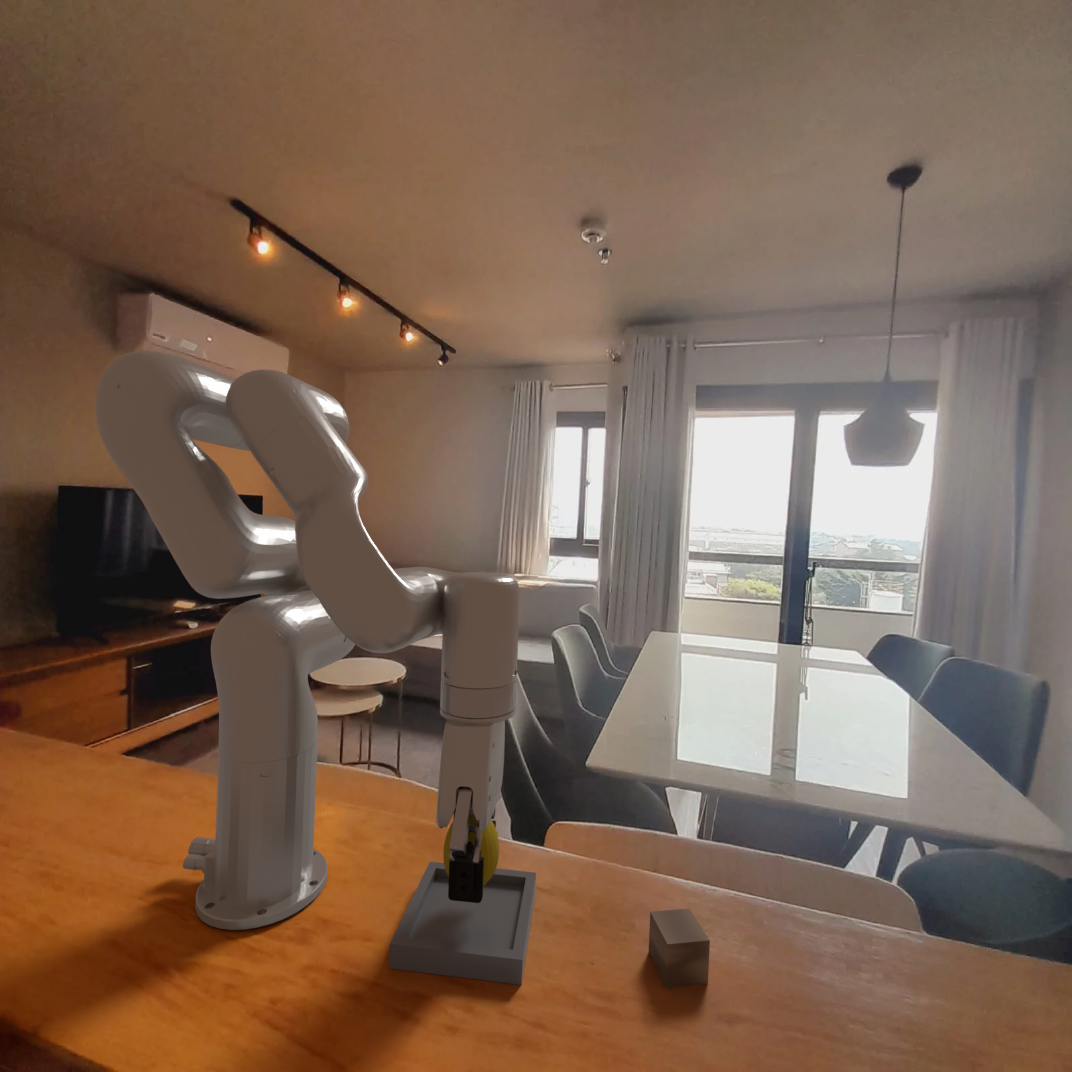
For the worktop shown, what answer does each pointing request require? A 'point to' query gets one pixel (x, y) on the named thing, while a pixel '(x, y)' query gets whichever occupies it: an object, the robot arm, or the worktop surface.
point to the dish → (467, 928)
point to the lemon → (487, 851)
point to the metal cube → (679, 948)
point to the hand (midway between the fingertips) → (472, 875)
